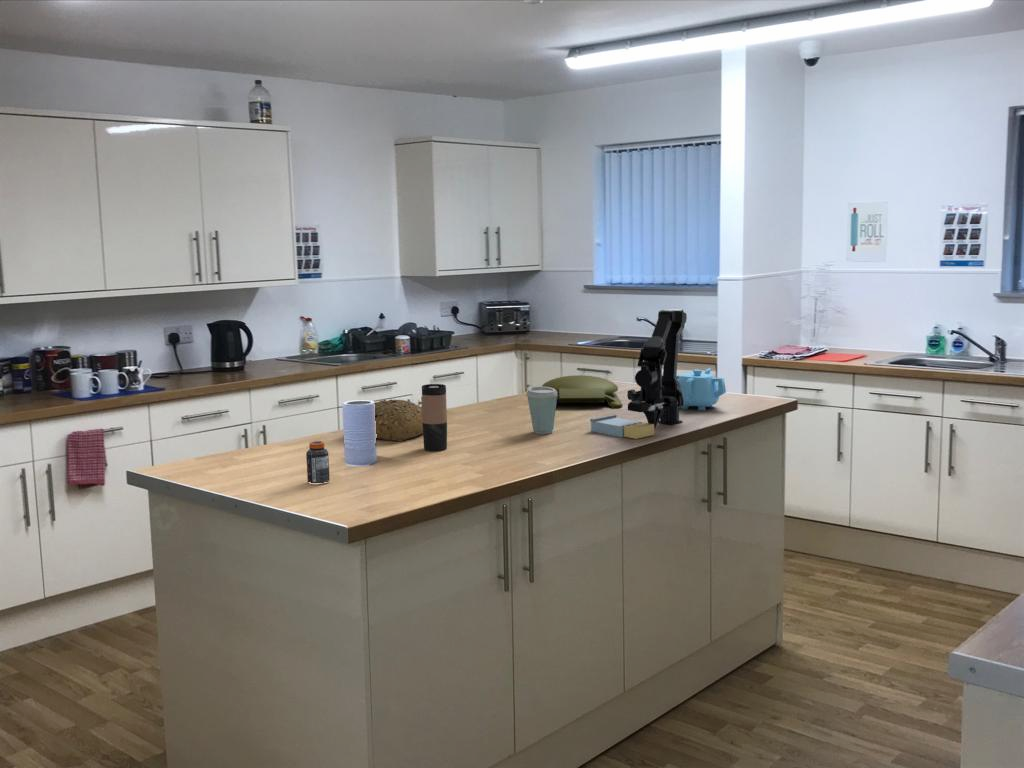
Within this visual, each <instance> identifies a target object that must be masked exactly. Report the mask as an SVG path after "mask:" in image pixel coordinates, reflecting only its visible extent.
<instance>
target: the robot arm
mask: <svg viewBox="0 0 1024 768" xmlns="http://www.w3.org/2000/svg"><path fill="white" fill-rule="evenodd" d="M687 319H688V318H687V313H686V312H685V311H684V310H683V309H680V308H679V309H678V308H677V309H676V308H675V309H674V308H669V309H668V308H665V309H661V310H659V311H658V315H657V321H656V324H655V327H654V329H653V332H652V335H651V337H650V338H649V339H648V340H646V341H645V343H644V344H643V346H642V347H641V348H640V353H639V357H638V360H637V361H638V362H637V367H640V370H638V371H637V372H636V373H635V376H634V381H635V383H636V385H637V386H638V387H640V390H635V389H629V390H627V394H626V395H627V400H629V403H627V411H630V412H635V413H642V414H644V416H645V418H646V420H647V423H650V424H654V430H655V429H656V427H657V425H658V423H661V424H666V425H674V424H679V423H680V424H681V423H683V420H682V419H681V420H680V408H681V407H682V406H684V397H683V394H682V391H681V389H680V383H679V381H678V380H679V379H677V377H676V375H678V373H677V372H678V360H679V359H678V358H679V355H678V354H679V344H680V342H679V341H680V335H681V333H682V332H683V330H684V329H685V324H686V322H687ZM662 368H663V370H662ZM677 401H678V402H677Z"/></svg>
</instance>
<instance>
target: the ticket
mask: <svg viewBox="0 0 1024 768" xmlns="http://www.w3.org/2000/svg"><path fill="white" fill-rule="evenodd" d="M589 421H590V422H591V423H590V432H592V433H593V432H595V433H600V434H604V435H607V436H608V435H609V436H614V437H617V438H619V437H620V438H625V437H624V426H627V425H632V424H636V423H640V422H641V421H637V420H636V421H635V420H632V419H631V420H630V419H625V418H620V417H618V416H617V414H609V415H603V416H598V417H593V418H590V419H589Z"/></svg>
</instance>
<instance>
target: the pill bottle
mask: <svg viewBox="0 0 1024 768" xmlns="http://www.w3.org/2000/svg"><path fill="white" fill-rule="evenodd" d="M325 447H326V446H325V442H324V441H322V440H316V441H315V440H314V441H310V442H309V449H308V450H307V451H306V454H305V455H306V457H305V458H306V473H307V474H306V475H307V483H308V482H311V483H324V482H328V481H329V480H331V479H330V459H329V451H328V449H326V448H325ZM329 482H330V481H329ZM329 482H328V483H329Z"/></svg>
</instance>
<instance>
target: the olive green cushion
mask: <svg viewBox="0 0 1024 768" xmlns="http://www.w3.org/2000/svg"><path fill="white" fill-rule="evenodd" d="M541 386H544V387H550V388H553V389H555V390H556V391H557V394H558V395H557V400H558V403H559V404H563V403H564V404H567V403H568V404H571V403H573V404H575V403H576V404H578V403H605V401H606V403H607V404H608V406H609V408H611V409H621V408H622V407H623V403H622V402H621V400H620V398H619V396H618V394H617V392H618V391H619V387H618V385H617V384H615V383H614V382H613V381H612V380H609V379H606V378H604V377H600V376H593V375H580V374H579V375H565V376H560V377H556V378H553V379H549V380H548V381H546V382H544V383H543V384H542V385H541Z"/></svg>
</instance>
